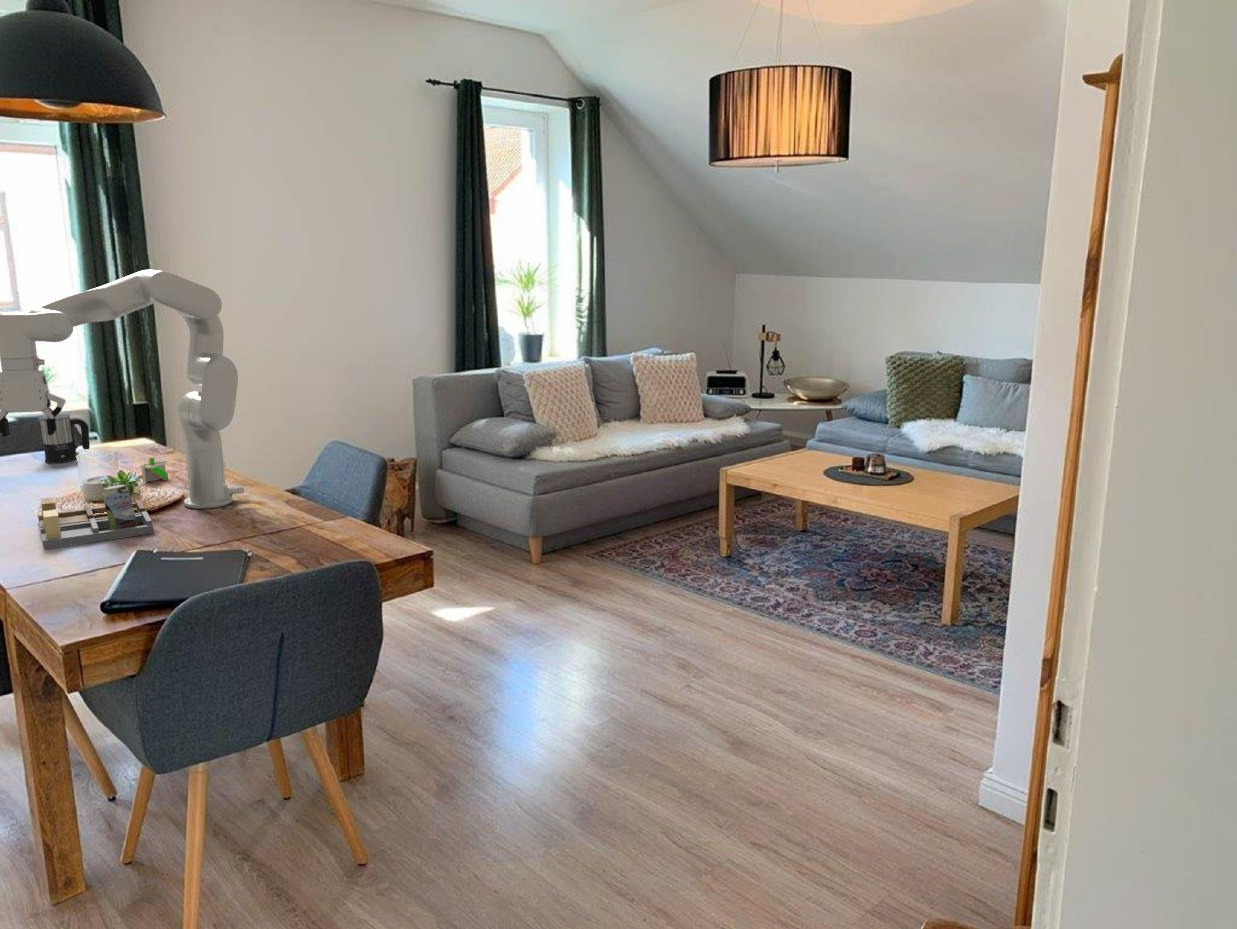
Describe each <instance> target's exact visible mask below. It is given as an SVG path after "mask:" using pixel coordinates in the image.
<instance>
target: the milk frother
mask: <svg viewBox="0 0 1237 929" xmlns="http://www.w3.org/2000/svg"><path fill="white" fill-rule="evenodd" d="M71 416H72V415H71V414H68V413H59V414H58V415H57V416H56V417H55V421H56V431H55V433H54V434H53V435H48V431H47V423H46V420H47V419H48V417H47V416H46V415H43V416H40V417H38V418H37V419H38V421H39V424H40V430H41V435H42V441H43V448H44V462H45V463H50V464H57V463H58V464H60V463H67V462H71V461H74V460H76V459H77V458H76V457H77V455H76V454H77V449H78V448H79V447H80V444H79V442H76V441H75V435H74V428H73V425H74V426H75V425H79V427H80V432H81V433H80V434H81V445H82V449H83V450H85V449H88V450H89V449H90V448H91V447H90V446H91V445H90V432H89V431H90V428H89V425H88V423H87V422H86V421H85V420H84V419H82V418H80V417H79V418H78V417H73V418H72V417H71Z"/></svg>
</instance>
